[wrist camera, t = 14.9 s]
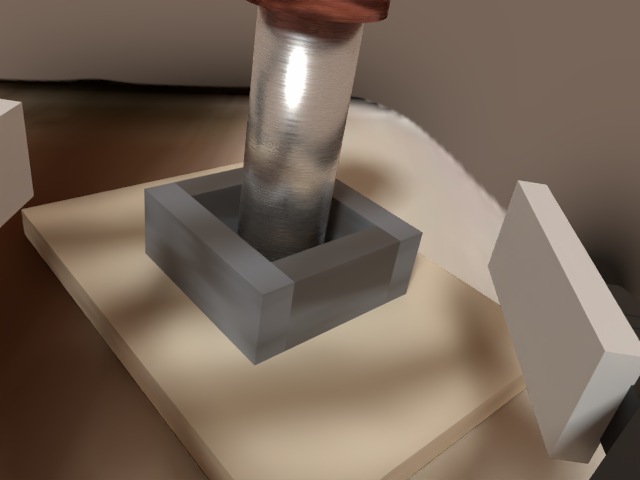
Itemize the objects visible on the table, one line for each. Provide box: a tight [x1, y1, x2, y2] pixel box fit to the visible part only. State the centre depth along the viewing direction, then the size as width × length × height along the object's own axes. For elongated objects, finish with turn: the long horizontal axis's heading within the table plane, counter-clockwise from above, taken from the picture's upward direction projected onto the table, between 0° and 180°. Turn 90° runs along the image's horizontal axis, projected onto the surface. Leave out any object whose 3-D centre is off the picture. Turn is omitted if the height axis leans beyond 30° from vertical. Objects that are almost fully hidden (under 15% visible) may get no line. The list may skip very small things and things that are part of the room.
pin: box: [237, 0, 391, 262], centre depth 25 cm, size 6×6×14 cm
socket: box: [21, 162, 527, 480], centre depth 28 cm, size 22×16×5 cm
